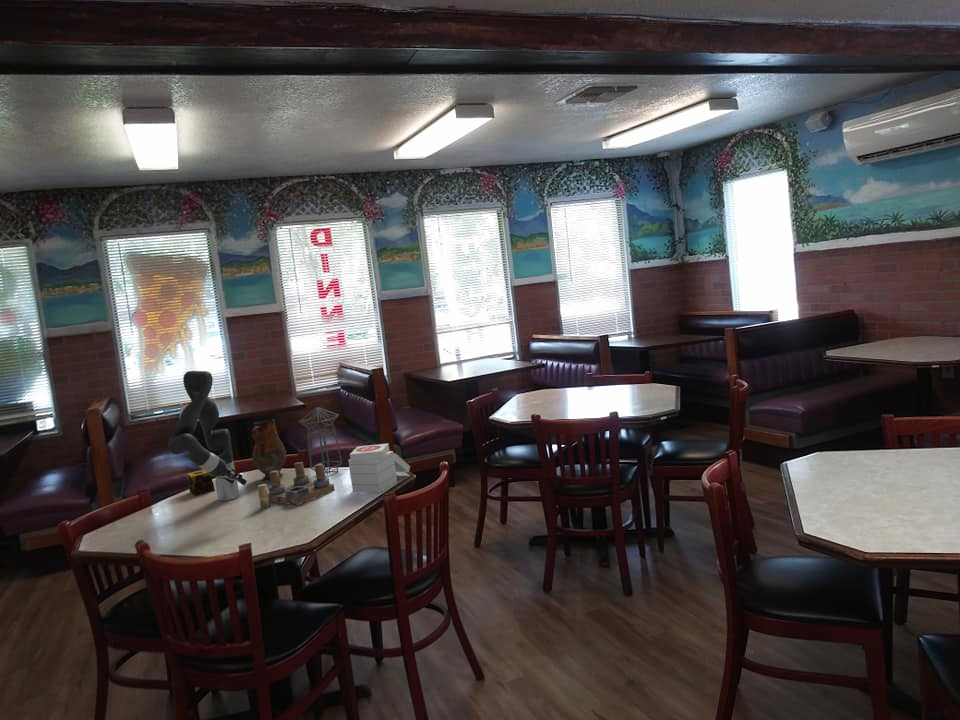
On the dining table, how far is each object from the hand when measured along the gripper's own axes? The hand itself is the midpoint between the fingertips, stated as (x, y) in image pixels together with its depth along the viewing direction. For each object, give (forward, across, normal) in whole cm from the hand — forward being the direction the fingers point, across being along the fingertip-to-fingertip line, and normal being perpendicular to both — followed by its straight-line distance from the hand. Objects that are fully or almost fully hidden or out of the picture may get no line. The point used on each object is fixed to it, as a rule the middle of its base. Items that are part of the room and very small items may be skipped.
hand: (239, 482), depth 316 cm
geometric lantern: (+52, +13, -31) cm, 62 cm away
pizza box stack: (+50, -29, -28) cm, 64 cm away
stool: (+31, -3, -10) cm, 32 cm away
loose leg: (+18, 0, +3) cm, 18 cm away
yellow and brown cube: (+23, +60, -2) cm, 64 cm away
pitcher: (+42, +40, -21) cm, 62 cm away
